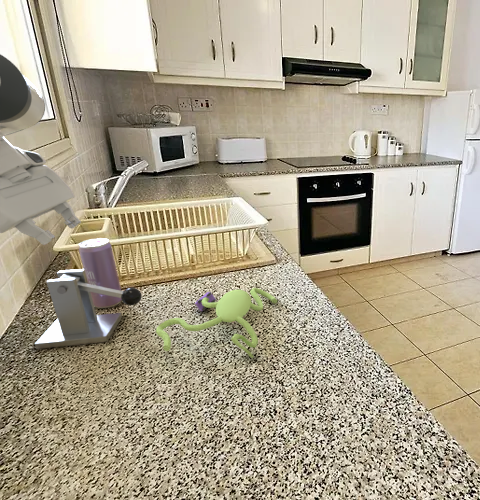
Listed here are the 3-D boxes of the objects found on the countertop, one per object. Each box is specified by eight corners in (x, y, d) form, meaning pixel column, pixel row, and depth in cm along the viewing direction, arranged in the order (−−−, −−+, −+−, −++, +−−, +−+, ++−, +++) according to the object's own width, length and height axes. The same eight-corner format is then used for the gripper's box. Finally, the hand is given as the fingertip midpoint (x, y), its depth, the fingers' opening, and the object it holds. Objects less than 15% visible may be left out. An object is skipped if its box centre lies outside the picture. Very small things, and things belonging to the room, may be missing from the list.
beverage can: (129, 299, 88) (116, 239, 83) (106, 311, 83) (91, 248, 78) (110, 294, 90) (96, 236, 85) (87, 306, 85) (70, 244, 79)
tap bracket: (122, 317, 81) (109, 263, 76) (107, 341, 73) (92, 282, 68) (58, 323, 78) (41, 267, 74) (36, 349, 70) (15, 288, 66)
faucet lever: (141, 301, 78) (145, 286, 77) (136, 310, 75) (140, 295, 74) (62, 285, 73) (65, 269, 72) (54, 294, 70) (57, 277, 69)
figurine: (147, 365, 67) (141, 338, 65) (206, 294, 91) (204, 273, 89) (248, 370, 66) (246, 343, 64) (281, 297, 91) (280, 276, 89)
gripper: (-36, 168, 53) (46, 242, 59) (45, 153, 72) (101, 210, 77) (-71, 193, 53) (14, 264, 59) (19, 171, 72) (77, 227, 78)
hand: (64, 233), depth 68 cm, fingers open, 8 cm apart
